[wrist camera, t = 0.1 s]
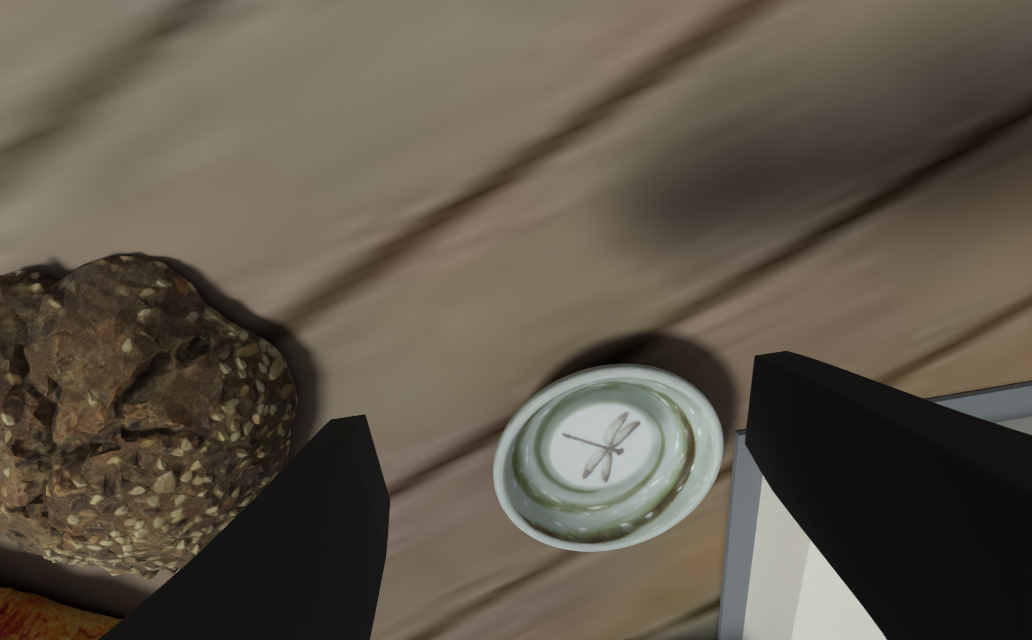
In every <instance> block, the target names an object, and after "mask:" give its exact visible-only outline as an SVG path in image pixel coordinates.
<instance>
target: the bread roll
mask: <svg viewBox="0 0 1032 640" xmlns="http://www.w3.org/2000/svg"><path fill="white" fill-rule="evenodd" d="M297 403H298V398H297V389H296V386H295V383H294V380H293V377H292V374H291V370H290V367H289V365H288V363H287V361H286V360H285V358H284V356H283V355H282V354H281V353H280V352H279V351H278V350H277V349H276V348H275V347H274V346H273V345H272V344H271V343H270V342H269V341H267V340H265V339H263V338H262V337H260V336H258V335H256V334H254V333H252V332H250V331H249V330H247V329H245V328H243V327H241V326H239V325H237V324H235V323H233V322H231V321H228V320H227V319H226V318H225V317H223V316H222V315H221V314H220V313H219V312H218V311H216V310H215V309H213V308H212V307H211V306H209V305H208V304H206V303H205V301H204V300H203V298H202V297H201V296H200V294H199V293H198V292H197V290H196V289H195V287H194V286H193V285H192V283H191V282H190V281H189V280H188V279H186V278H185V277H184V276H182V275H181V274H180V273H178V272H177V271H176V270H174V269H172V268H171V267H169V266H168V265H166V264H164V263H163V262H161V261H159V260H157V259H150V258H146V257H143V256H117V255H116V256H112V257H108V258H104V259H100V260H96V261H93V262H89V263H86V264H84V265H81V266H80V267H79V268H77V269H76V270H74V271H73V272H71V273H70V274H68V275H67V276H65V277H64V278H62V279H60V280H58V279H54V278H50V277H48V276H46V275H44V274H43V273H41V272H35V273H31V272H27V271H24V270H21V271H14V272H11V273H7V274H4V275H0V533H3V534H5V535H6V536H7V537H8V538H10V539H11V540H12V541H14V542H15V543H17V544H18V548H20V549H22V550H24V551H26V552H29V553H32V554H37V555H42V556H43V557H44V559H47V560H51V561H52V563H56V562H58V563H63V564H70V565H74V566H75V565H77V566H80V567H85V568H89V567H91V566H101V567H102V568H104V569H105V570H107V571H109V573H110V574H111V575H112V576H116V575H119V574H123V573H134V574H136V575H142V580H144V579H152V578H153V577H154V576H155V575H156V574H157V572H158V571H159V569H160V570H162V569H163V568H164V570H165V571H166V572H168V573H169V574H171V575H173V574H174V573H175V572H176V571H177V570H178V569H182V568H183V567H184V566H185V565H186V564H187V563H188V562H189V561H190V560H192V559H193V558H194V557H195V556H196V555H197V554H198V553H199V552H200V551H201V550H202V549H203V548H204V547H205V546H206V545H207V544H208V543H209V542H210V541H211V540H212V539H213V538H215V537H216V536H217V535H218V534H219V533H220V532H221V531H222V530H223V529H224V528H225V527H226V526H227V525H228V524H229V523H230V522H231V521H232V520H233V519H234V518H235V517H236V516H237V515H239V514H240V513H241V512H242V511H243V510H244V509H245V508H246V507H247V506H248V505H249V504H250V503H251V502H252V501H253V500H254V499H255V498H256V497H257V496H258V495H259V494H260V492H261V491H262V490H263V489H264V488H265V487H266V486H267V485H268V484H269V483H270V482H271V481H272V480H273V479H274V478H275V477H276V476H277V475H278V474H279V473H280V472H281V471H282V470H283V469H284V468H285V467H286V465H287V464H288V458H289V450H290V448H291V446H290V434H291V428H292V427H293V426H294V418H295V411H296V407H297Z"/></svg>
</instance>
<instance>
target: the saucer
mask: <svg viewBox="0 0 1032 640" xmlns="http://www.w3.org/2000/svg"><path fill="white" fill-rule="evenodd" d="M723 451H724V438H723V431H722V427H721V423H720V420H719V418H718V415H717V413H716V411H715V409H714V407H713V406H712V404H711V403H710V402H709V400H708V399H707V398H706V397H705V395H704V394H703V393H702V392H701V391H700V390H699V389H698V388H696V387H695V386H694V385H693V384H691V383H690V382H689V381H687V380H685V379H684V378H682V377H680V376H678V375H676V374H674V373H672V372H669V371H667V370H664V369H660V368H657V367H654V366H648V365H642V364H610V365H602V366H596V367H592V368H588V369H584V370H581V371H578V372H575V373H572V374H570V375H568V376H565V377H563V378H561V379H558V380H556V381H555V382H553V383H551V384H549V385H548V386H546V387H545V388H544V389H542V390H540V391H539V392H537V393H536V394H535V395H534V396H532V397H531V398H530V399H529V400H528V401H527V402H525V403H524V405H523V406H522V407H521V408H520V409H519V410H518V411H517V412H516V413H515V414H514V415H513V417H512V418H511V420H510V421H509V422H508V424H507V426H506V427H505V429H504V431H503V433H502V435H501V437H500V440H499V442H498V444H497V448H496V451H495V455H494V462H493V481H494V487H495V491H496V494H497V497H498V500H499V502H500V504H501V506H502V508H503V510H504V511H505V513H506V514H507V515H508V517H509V518H510V519H511V520H512V521H513V522H514V523H515V525H517V526H518V527H519V528H520V529H521V530H523V531H524V532H525V533H527V534H528V535H530V536H531V537H533V538H535V539H537V540H539V541H541V542H543V543H546V544H548V545H551V546H554V547H557V548H562V549H567V550H573V551H584V552H587V551H589V552H594V551H607V550H614V549H619V548H624V547H628V546H632V545H634V544H638V543H641V542H644V541H646V540H648V539H651V538H653V537H655V536H657V535H659V534H661V533H663V532H665V531H666V530H668V529H670V528H671V527H673V526H674V525H676V524H677V523H678V522H680V521H681V520H683V519H684V518H685V517H686V516H687V515H688V514H690V513H691V512H692V511H693V510H694V509H695V508H696V507H697V506H698V504H699V503H700V502H701V501H702V500H703V499H704V497H705V496H706V494H707V493H708V492H709V490H710V489H711V487H712V485H713V483H714V481H715V480H716V477H717V475H718V472H719V470H720V466H721V462H722V457H723Z"/></svg>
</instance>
